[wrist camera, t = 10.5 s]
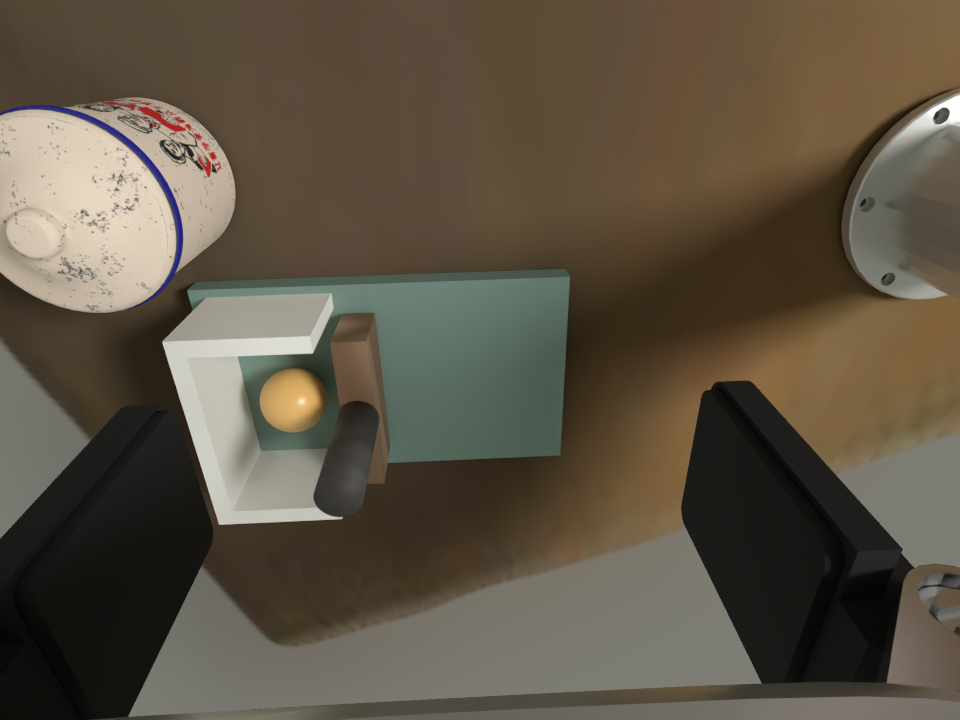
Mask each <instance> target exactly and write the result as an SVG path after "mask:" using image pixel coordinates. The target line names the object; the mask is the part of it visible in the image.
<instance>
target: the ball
mask: <svg viewBox="0 0 960 720" xmlns="http://www.w3.org/2000/svg"><path fill="white" fill-rule="evenodd" d="M326 405H327V394H326V390H325V388H324V385H323V384H322V382H321V381H320V380H319V378H317V377H316V376H315V375H314V374H312V373H311V372H309V371H306V370H303V369H298V368H290V369H285V370H282V371H279V372H277V373H276V374H274V375H273V376H271V377H270V378H269V379H268V380H267V382H266V383H265V384H264V386H263V388H262V391H261V394H260V408H261V411H262V414H263V416H264V418H265V419H266V420H267V421H268V423H270V424H271V425H272V426H273V427H275V428H276V429H279V430H281V431H285V432H292V433H293V432H301V431H304V430H307V429H309V428H311V427H312V426H314V425H315V424H316V423H317V422H318V421H319V420H320V419H321V417H322V416H323V414H324V412H325V409H326Z"/></svg>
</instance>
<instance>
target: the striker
mask: <svg viewBox="0 0 960 720" xmlns="http://www.w3.org/2000/svg"><path fill="white" fill-rule="evenodd" d="M330 347H331V353H332V359H333V366H334V372H335V378H336V384H337V391H338V397H339V403H340V411H339V414H338V417H337V421H336V424H335V427H334V430H333V433H332V436H331V440H330V443H329V446H328V449H327V452H326V456H325V459H324V462H323V465H322V468H321V472H320V475H319V478H318V481H317V484H316V488H315V491H314V495H313V498H314V502H315V505H316V506H317V507H318V508H319V509H320V510H321V511H322V512H323V513H325V514H327V515H330V516H334V517H347V516H350V515H353V514H355V513H356V512H358V511H359V510H360V508H361V507H362V505H363V501H364V496H365V491H366V486H367V484H378V483H384V482H385V476H386V470H387V463H388V457H389V451H390V438H389V430H388V421H387V412H386V404H385V395H384V387H383V378H382V369H381V361H380V352H379V344H378V335H377V326H376V318H375V313H350V314H342V315H341V317H340V320H339V322H338V325H337V327H336V329H335V332H334V334H333V337H332V339H331V341H330Z"/></svg>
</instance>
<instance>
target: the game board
mask: <svg viewBox="0 0 960 720" xmlns="http://www.w3.org/2000/svg"><path fill="white" fill-rule="evenodd" d="M569 286H570V276H569V274H568V272H567V270H566V269H544V270H515V271H486V272H458V273H429V274H400V275H372V276H343V277H314V278H285V279H257V280H228V281H199V282H196V283H195V284H194V285H192V286H191V287H190V288H189V289H188V290H187V292H188V296H189V299H190V303H191V307H192V310H193V311H192V312H191V313H190V314H189V315H188V316H187V317H186V318H185V319H184V320H183V321H182V322H181V323H180V324H179V325H178V326H177V327H176V328H175V329H174V330H173V331H172V332H171V333H170V334H169V335H168V336H167V337H166V338H165V339H164V340H163V341H162V343H163V346H164V350H165V353H166V356H167V359H168V362H169V366H170V369H171V372H172V375H173V378H174V382H175V385H176V388H177V391H178V394H179V398H180V401H181V404H182V407H183V410H184V414H185V417H186V420H187V423H188V426H189V430H190V433H191V436H192V439H193V442H194V446H195V449H196V452H197V455H198V458H199V462H200V465H201V468H202V471H203V474H204V478H205V481H206V484H207V487H208V490H209V494H210V497H211V500H212V503H213V506H214V510H215V513H216V516H217V519H218V522H219V525H224V524H246V523H268V522H289V521H311V520H333V519H342V518H343V517H334V516H330V515H327V514H325V513H323V512H322V511H321V510H320V509H319V508H318V507H317V506H316V505H315V502H314V498H313V495H314V491H315V488H316V484H317V481H318V478H319V475H320V472H321V468H322V465H323V462H324V459H325V456H326V452H327V449H328V446H329V443H330V440H331V436H332V433H333V430H334V427H335V424H336V421H337V417H338V414H339V411H340V403H339V397H338V391H337V384H336V378H335V372H334V366H333V359H332V353H331V347H330V341H331V339H332V337H333V334H334V332H335V329H336V327H337V325H338V322H339V320H340V317H341V315H342V314H350V313H375V318H376V326H377V335H378V344H379V352H380V361H381V369H382V378H383V387H384V395H385V404H386V412H387V421H388V430H389V438H390V451H389V457H388V463H398V462H421V461H444V460H467V459H490V458H513V457H536V456H559V455H560V452H561V434H562V416H563V397H564V379H565V360H566V342H567V323H568V305H569ZM290 368H298V369H303V370H306V371H309V372H311V373H312V374H314V375H315V376H316V377H317V378H319V380H320V381H321V382H322V384H323V385H324V388H325V390H326V394H327V405H326V409H325V412H324V414H323V416H322V417H321V419H320V420H319V421H318V422H317V423H316V424H315V425H314V426H312V427H311V428H309V429H307V430H304V431H301V432H293V433H292V432H285V431H281V430H279V429H276V428H275V427H273V426H272V425H271V424H270V423H268V421H267V420H266V419H265V418H264V416H263V414H262V411H261V408H260V394H261V391H262V388H263V386H264V384H265V383H266V382H267V380H268V379H269V378H270V377H271V376H273V375H274V374H276V373H277V372H279V371H282V370H285V369H290Z"/></svg>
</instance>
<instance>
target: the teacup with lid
mask: <svg viewBox="0 0 960 720" xmlns="http://www.w3.org/2000/svg"><path fill="white" fill-rule="evenodd" d="M234 206H235V183H234V178H233V174H232V171H231V168H230V165H229V163H228V160H227V158H226V156H225V154H224V152H223V151H222V149H221V147H220V146H219V144H218V143H217V142H216V140H215V139H214V138H213V136H212V135H211V134H210V133H209V132H208V131H207V130H206V129H205V128H204V127H203V126H202V125H201V124H200V123H199V122H198V121H196V120H195V119H194V118H192V117H191V116H190V115H188V114H187V113H185V112H183V111H182V110H180V109H178V108H176V107H174V106H172V105H169V104H167V103H164V102H161V101H157V100H153V99H148V98H122V99H116V100H109V101H102V102H95V103H88V104H81V105H75V106H68V107H58V106H49V105H30V106H21V107H17V108H13V109H9V110H7V111H4V112H1V113H0V272H1V273H2V274H3V275H4V276H5V277H6V278H7V279H9V280H10V281H11V282H13V283H14V284H15V285H17V286H18V287H20V288H21V289H23V290H24V291H26V292H28V293H30V294H31V295H33V296H35V297H37V298H39V299H41V300H43V301H46V302H48V303H51V304H53V305H56V306H59V307H63V308H66V309H71V310H75V311H82V312H91V313H107V312H115V311H122V310H127V309H130V308H134V307H137V306H139V305H141V304H144V303H146V302H147V301H149V300H151V299H152V298H154V297H155V296H156V295H158V294H159V293H160V292H161V291H162V290H163V289H164V288H165V287H166V286H167V285H168V283H169V282H170V281H171V279H172V278H173V276H174V274H175V273H176V272H177V271H179V270H180V269H181V268H182V267H184V266H185V265H186V264H187V263H189V262H190V261H191V260H192V259H194V258H195V257H196V256H197V255H199V254H200V253H201V252H202V251H204V250H205V249H206V248H207V247H208V246H210V245H211V244H212V243H213V242H215V241H216V240H217V239H218V238H219V237H220V236H221V235H222V233H223V232H224V231H225V229H226V228H227V226H228V224H229V222H230V220H231V217H232V214H233V211H234Z"/></svg>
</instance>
